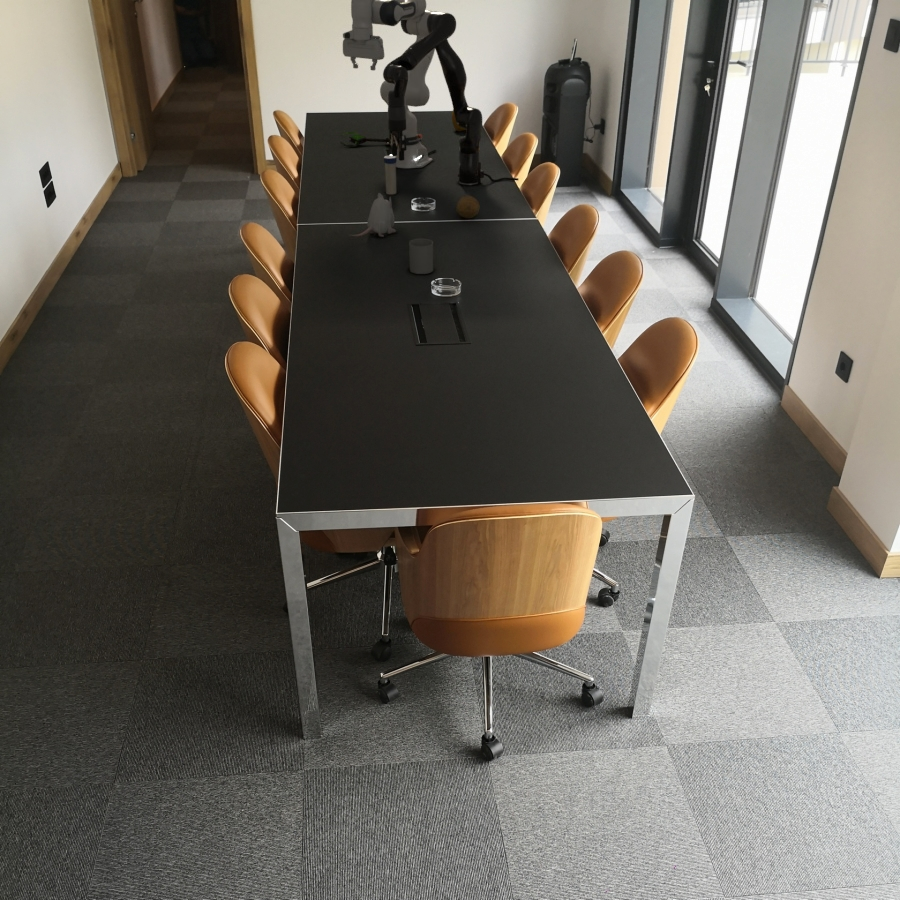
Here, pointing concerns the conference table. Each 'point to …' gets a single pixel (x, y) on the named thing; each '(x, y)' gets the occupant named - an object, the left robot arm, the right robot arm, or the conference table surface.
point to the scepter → (361, 139)
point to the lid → (390, 159)
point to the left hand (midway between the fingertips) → (364, 69)
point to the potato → (467, 207)
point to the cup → (421, 256)
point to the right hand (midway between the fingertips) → (398, 158)
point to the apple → (456, 123)
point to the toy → (380, 217)
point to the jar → (390, 178)
